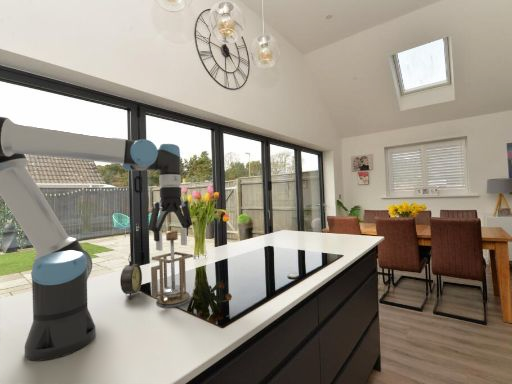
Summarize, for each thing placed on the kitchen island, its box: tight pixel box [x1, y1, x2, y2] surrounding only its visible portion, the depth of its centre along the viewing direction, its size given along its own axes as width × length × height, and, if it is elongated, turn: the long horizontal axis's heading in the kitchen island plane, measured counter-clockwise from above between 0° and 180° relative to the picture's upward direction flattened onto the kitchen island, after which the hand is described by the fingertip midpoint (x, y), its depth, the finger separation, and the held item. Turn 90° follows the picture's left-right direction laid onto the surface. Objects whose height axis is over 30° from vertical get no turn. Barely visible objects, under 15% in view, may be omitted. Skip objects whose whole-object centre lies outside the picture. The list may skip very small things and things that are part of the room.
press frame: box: [150, 251, 194, 309], centre depth 96 cm, size 14×12×16 cm
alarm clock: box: [119, 253, 143, 300], centre depth 103 cm, size 11×5×16 cm, turn 5°
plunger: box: [163, 230, 184, 295], centre depth 97 cm, size 8×8×22 cm
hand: (172, 247), depth 97 cm, fingers open, 10 cm apart
